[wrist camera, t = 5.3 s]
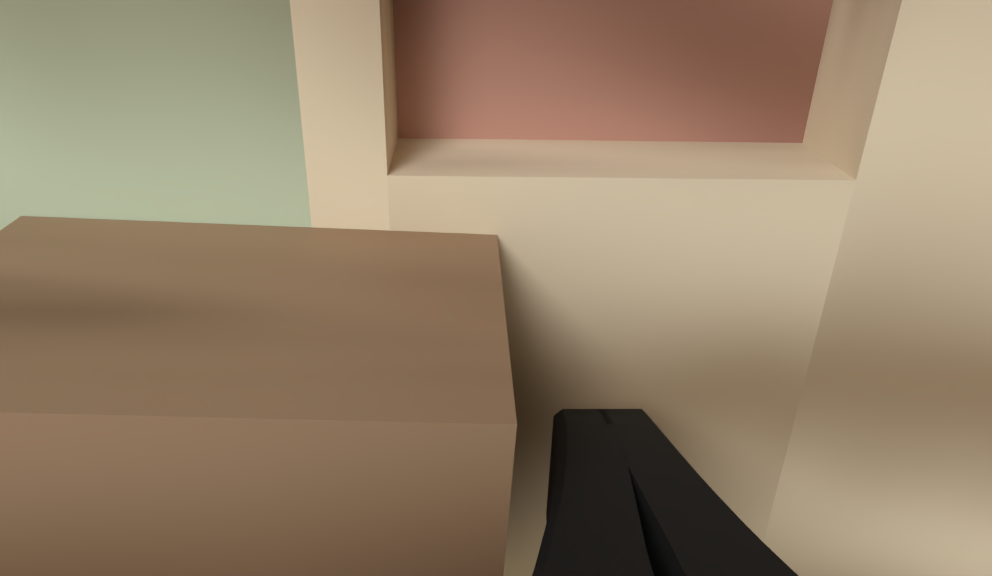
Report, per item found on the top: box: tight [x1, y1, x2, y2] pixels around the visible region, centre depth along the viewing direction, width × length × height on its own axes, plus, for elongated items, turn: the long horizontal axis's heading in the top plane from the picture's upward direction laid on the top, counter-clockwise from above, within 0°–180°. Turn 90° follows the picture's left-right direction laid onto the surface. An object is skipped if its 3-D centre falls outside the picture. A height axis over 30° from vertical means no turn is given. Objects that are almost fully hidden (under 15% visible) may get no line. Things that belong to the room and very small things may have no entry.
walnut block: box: [0, 216, 517, 576], centre depth 9 cm, size 6×6×4 cm
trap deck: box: [0, 0, 992, 576], centre depth 12 cm, size 18×24×2 cm
